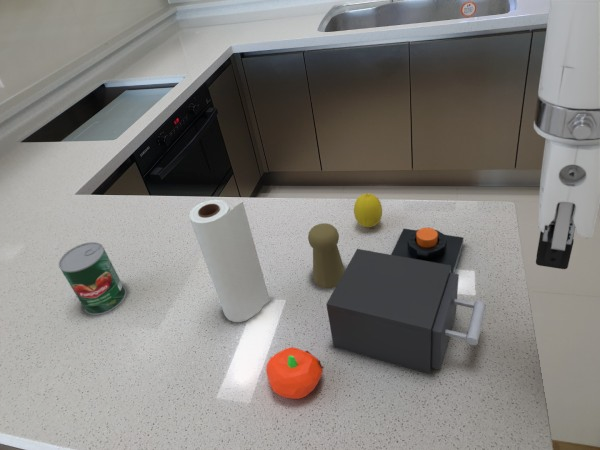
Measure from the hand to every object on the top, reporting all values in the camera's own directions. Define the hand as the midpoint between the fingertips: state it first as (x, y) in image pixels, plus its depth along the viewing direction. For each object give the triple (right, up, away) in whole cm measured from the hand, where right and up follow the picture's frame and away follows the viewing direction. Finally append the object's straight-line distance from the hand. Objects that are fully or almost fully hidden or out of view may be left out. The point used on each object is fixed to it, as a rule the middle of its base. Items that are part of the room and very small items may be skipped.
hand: (551, 262), depth 53 cm
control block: (-6, -1, +31) cm, 31 cm away
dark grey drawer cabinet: (-14, -12, +19) cm, 27 cm away
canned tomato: (-66, -10, +35) cm, 75 cm away
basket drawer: (-11, -12, +17) cm, 23 cm away
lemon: (-15, +4, +41) cm, 44 cm away
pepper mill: (-23, -5, +31) cm, 39 cm away
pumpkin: (-29, -19, +14) cm, 37 cm away
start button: (-6, +1, +29) cm, 30 cm away
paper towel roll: (-38, -11, +27) cm, 48 cm away
